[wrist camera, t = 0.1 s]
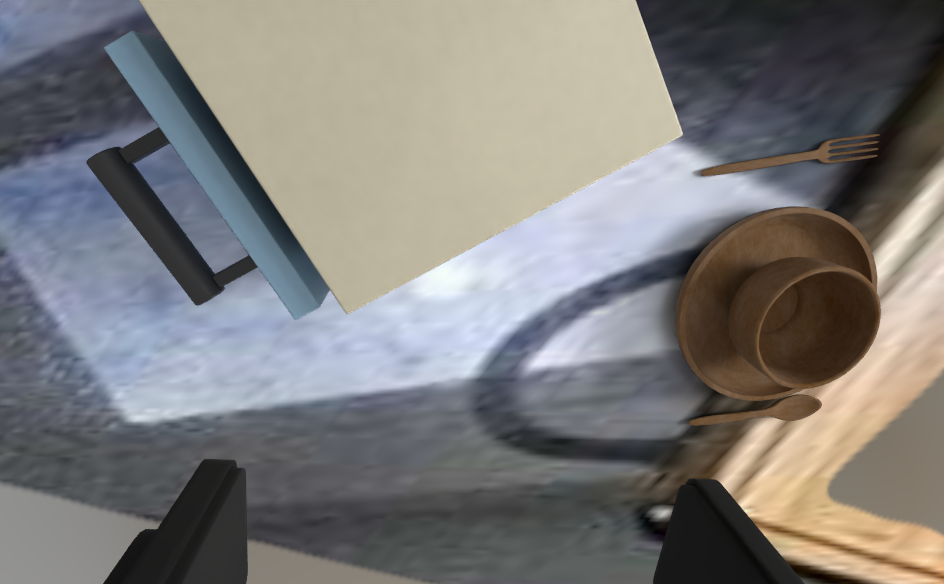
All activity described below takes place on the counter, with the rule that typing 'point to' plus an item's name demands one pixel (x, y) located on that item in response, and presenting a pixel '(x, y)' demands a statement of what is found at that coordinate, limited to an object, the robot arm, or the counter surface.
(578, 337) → the counter surface
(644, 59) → the drawer cabinet
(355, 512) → the counter surface
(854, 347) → the place setting
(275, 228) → the blue drawer
